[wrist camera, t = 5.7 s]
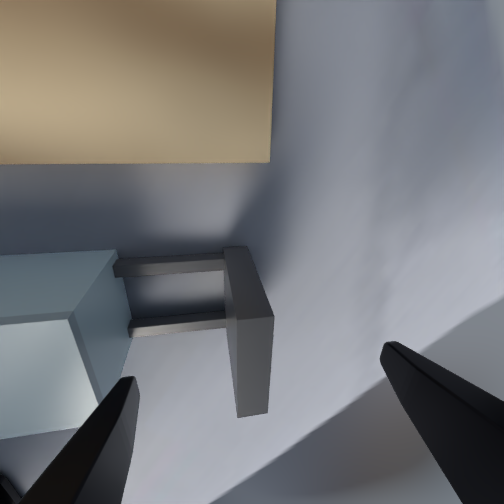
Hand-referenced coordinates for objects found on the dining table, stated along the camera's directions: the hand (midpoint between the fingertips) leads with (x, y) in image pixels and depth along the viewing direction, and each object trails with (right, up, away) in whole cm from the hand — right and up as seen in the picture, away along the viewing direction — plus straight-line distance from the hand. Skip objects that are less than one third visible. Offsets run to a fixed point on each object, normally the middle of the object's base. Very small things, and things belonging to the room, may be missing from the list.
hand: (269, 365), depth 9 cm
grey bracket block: (-8, +2, +4) cm, 9 cm away
